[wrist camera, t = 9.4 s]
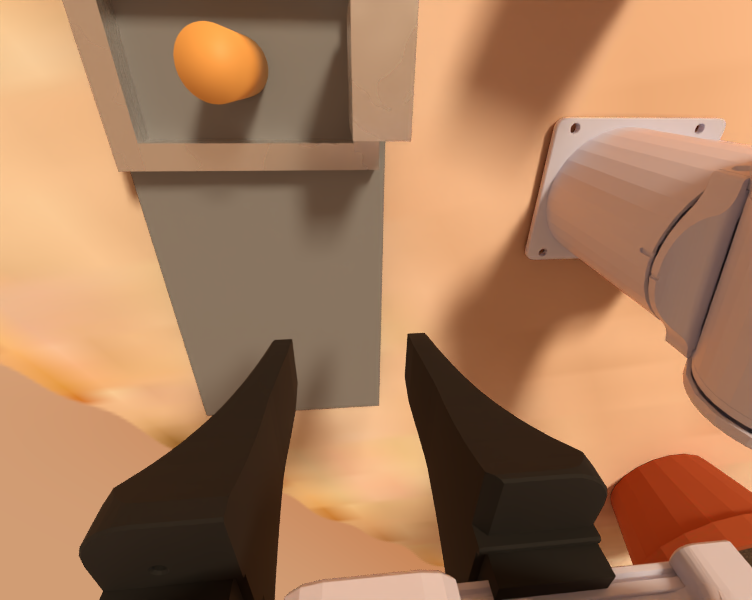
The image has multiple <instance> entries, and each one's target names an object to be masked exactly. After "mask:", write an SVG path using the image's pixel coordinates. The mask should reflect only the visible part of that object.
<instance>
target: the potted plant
mask: <svg viewBox="0 0 752 600" xmlns="http://www.w3.org/2000/svg"><path fill="white" fill-rule="evenodd" d="M611 504H612V507H613V510H614V512H615V515H616V518H617V521H618V524H619V527H620V529H621V532H622V535H623V538H624V541H625V544H626V546H627V549H628V552H629V555H630V558H631V561H632V563H633V565H638V564H648V563H658V562H667V561H669V559H670V557H671V555H672V554H673V553H674V551H675V550H677V549H678V548H679V547H681V546H684V545H686V544H691V543H700V542H710V541H720V540H727V541H730V542H731V543H732V545H733V546H734V547H735V548H736V549H737V550H738V552H739V553H740V554H741V555H742V556H743V558H744V559H745V560H746V561H747V562H748V563H749V565H750V566H751V567H752V492H750V491H749V490H748V489H746V488H745V487H743V486H742V485H740V484H739V483H737V482H736V481H735V480H733V479H732V478H730V477H729V476H727V475H726V474H724V473H723V472H722V471H720V470H719V469H717V468H716V467H714V466H713V465H712V464H710V463H709V462H707V461H706V460H704V459H702V458H701V457H699V456H696V455H689V454H680V455H670V456H666V457H663V458H659V459H655V460H652V461H650V462H648V463H646V464H644V465H642V466H639V467H637V468H636V469H634V470H633V471H631V472H630V473H628V474H627V475H626V476H624V477H623V478H622V479H621V480H620V481H619V482H618V483H617V484H616V486H615V487H614V489H613V491H612V493H611Z"/></svg>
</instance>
